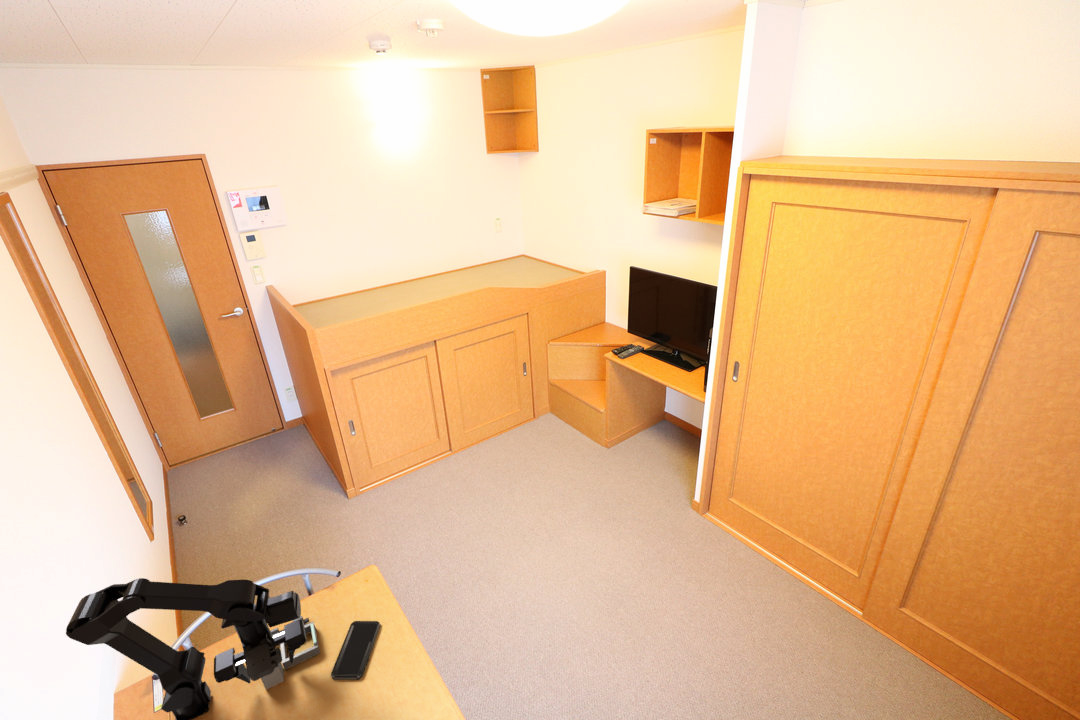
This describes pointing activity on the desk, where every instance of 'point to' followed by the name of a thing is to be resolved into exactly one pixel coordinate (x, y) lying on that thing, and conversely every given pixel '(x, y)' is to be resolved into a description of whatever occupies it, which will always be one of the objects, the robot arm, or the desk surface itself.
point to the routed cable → (276, 630)
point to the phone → (355, 650)
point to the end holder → (304, 654)
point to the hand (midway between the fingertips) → (271, 671)
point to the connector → (273, 677)
